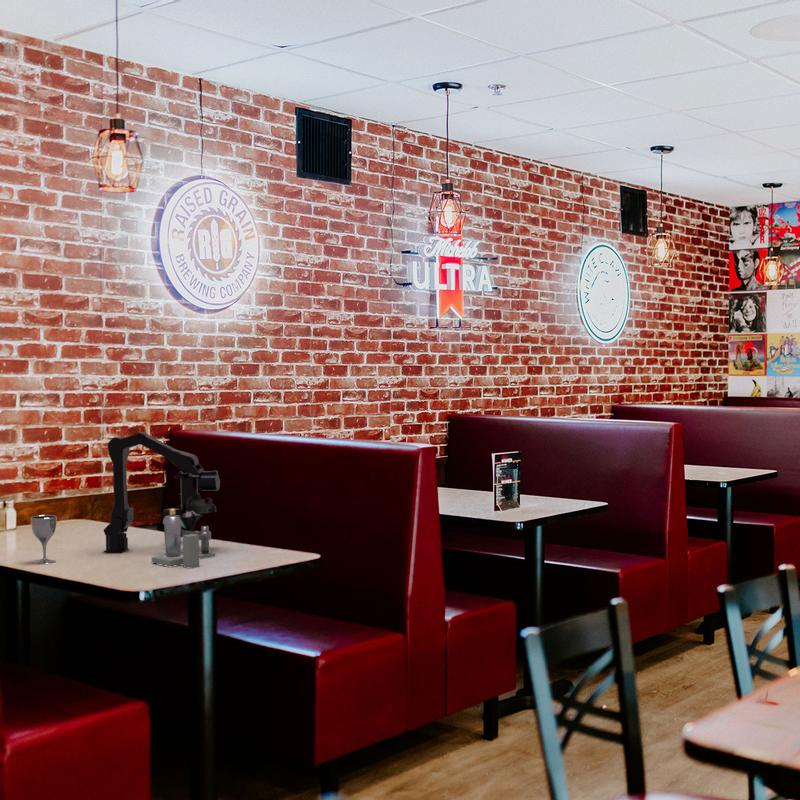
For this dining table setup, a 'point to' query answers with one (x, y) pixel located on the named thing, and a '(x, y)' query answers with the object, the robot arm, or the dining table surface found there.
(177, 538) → the grey bottle
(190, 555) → the press
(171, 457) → the robot arm
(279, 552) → the dining table surface
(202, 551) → the lever
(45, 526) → the wine glass
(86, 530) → the dining table surface
